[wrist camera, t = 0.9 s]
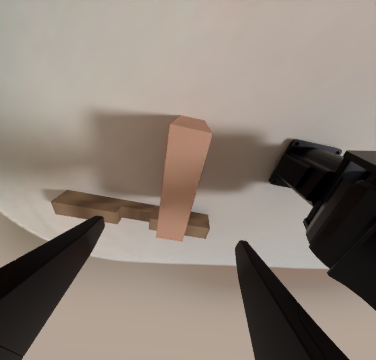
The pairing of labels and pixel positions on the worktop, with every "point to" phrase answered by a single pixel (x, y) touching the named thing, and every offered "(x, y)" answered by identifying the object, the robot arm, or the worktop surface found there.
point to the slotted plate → (182, 174)
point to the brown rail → (121, 211)
